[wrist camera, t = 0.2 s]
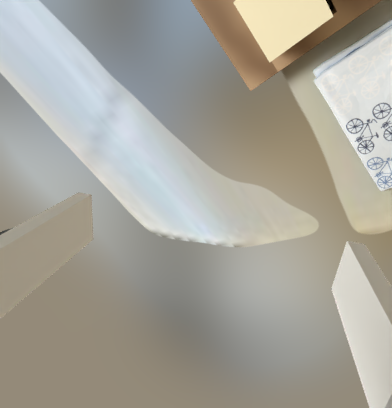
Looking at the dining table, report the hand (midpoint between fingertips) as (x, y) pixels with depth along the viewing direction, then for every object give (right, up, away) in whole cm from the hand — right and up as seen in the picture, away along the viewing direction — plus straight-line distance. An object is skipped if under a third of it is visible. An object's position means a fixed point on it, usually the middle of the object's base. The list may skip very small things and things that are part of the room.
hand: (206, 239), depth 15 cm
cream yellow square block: (+8, +21, +13) cm, 26 cm away
